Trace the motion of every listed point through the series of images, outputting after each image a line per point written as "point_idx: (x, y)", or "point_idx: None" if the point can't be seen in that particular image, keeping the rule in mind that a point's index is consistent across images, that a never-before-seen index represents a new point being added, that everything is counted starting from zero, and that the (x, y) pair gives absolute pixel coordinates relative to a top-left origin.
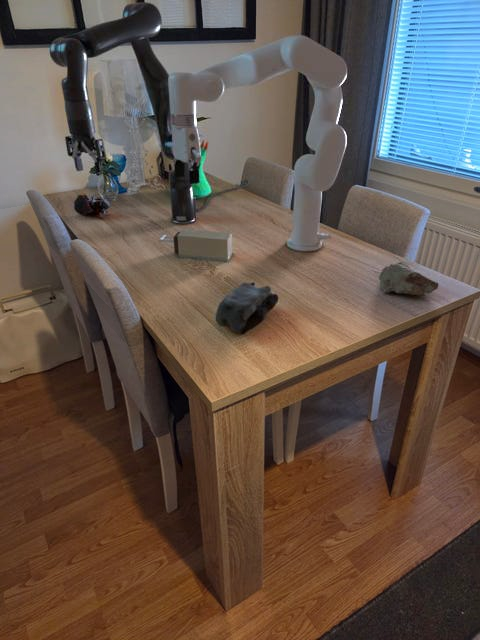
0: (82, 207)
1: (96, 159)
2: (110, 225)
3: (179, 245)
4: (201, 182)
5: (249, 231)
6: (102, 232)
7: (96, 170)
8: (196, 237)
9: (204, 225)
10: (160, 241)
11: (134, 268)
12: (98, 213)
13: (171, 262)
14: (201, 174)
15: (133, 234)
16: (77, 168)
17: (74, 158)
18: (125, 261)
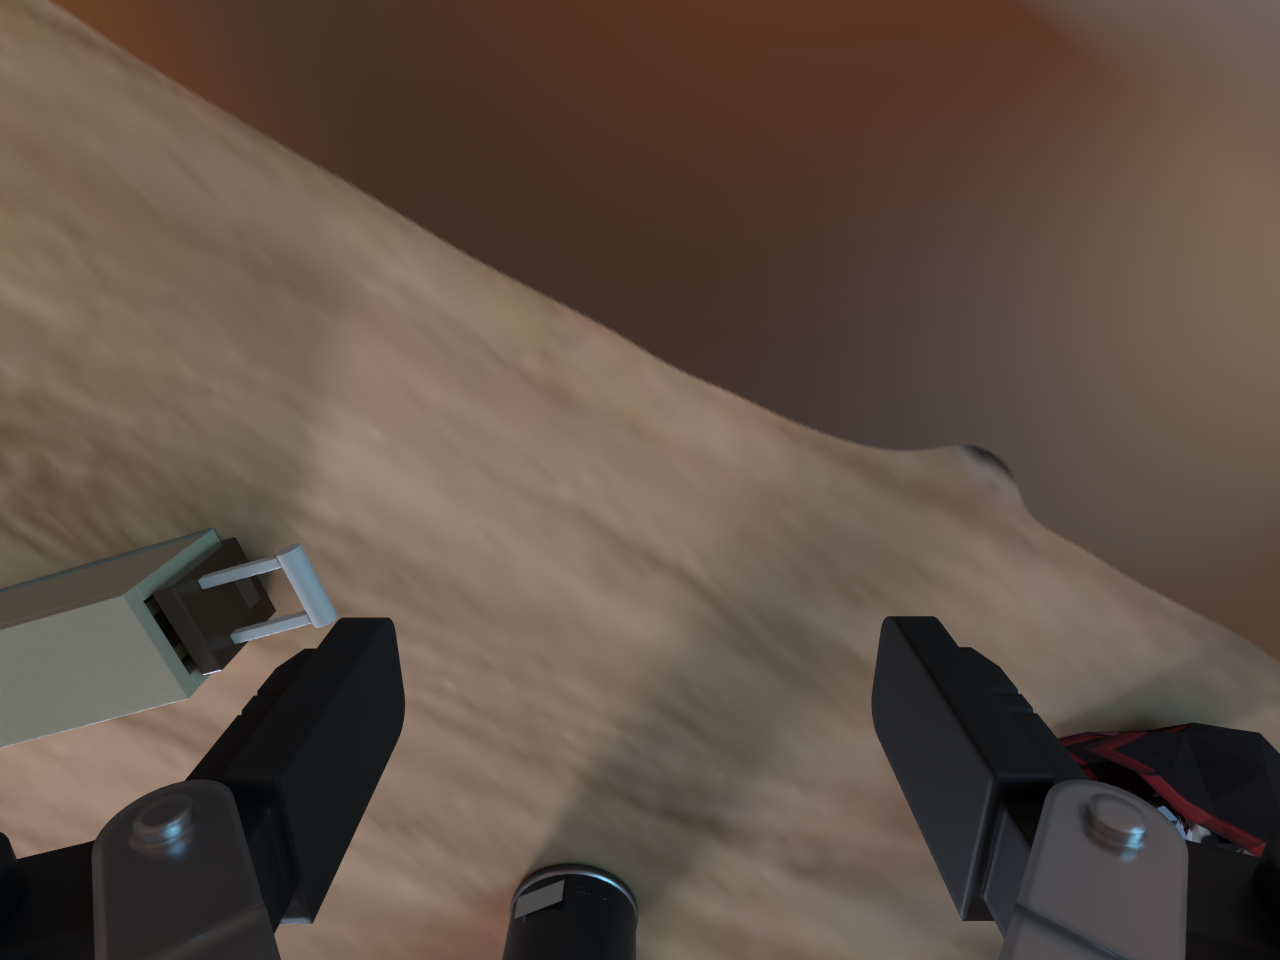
0: (1199, 757)
1: (93, 846)
2: None
3: (159, 563)
4: None
5: None
6: (882, 592)
7: (336, 650)
8: (3, 627)
9: (431, 903)
10: (287, 547)
11: (288, 262)
12: None
13: (183, 445)
14: None
15: (684, 652)
16: (911, 636)
17: (1056, 792)
18: (418, 317)
